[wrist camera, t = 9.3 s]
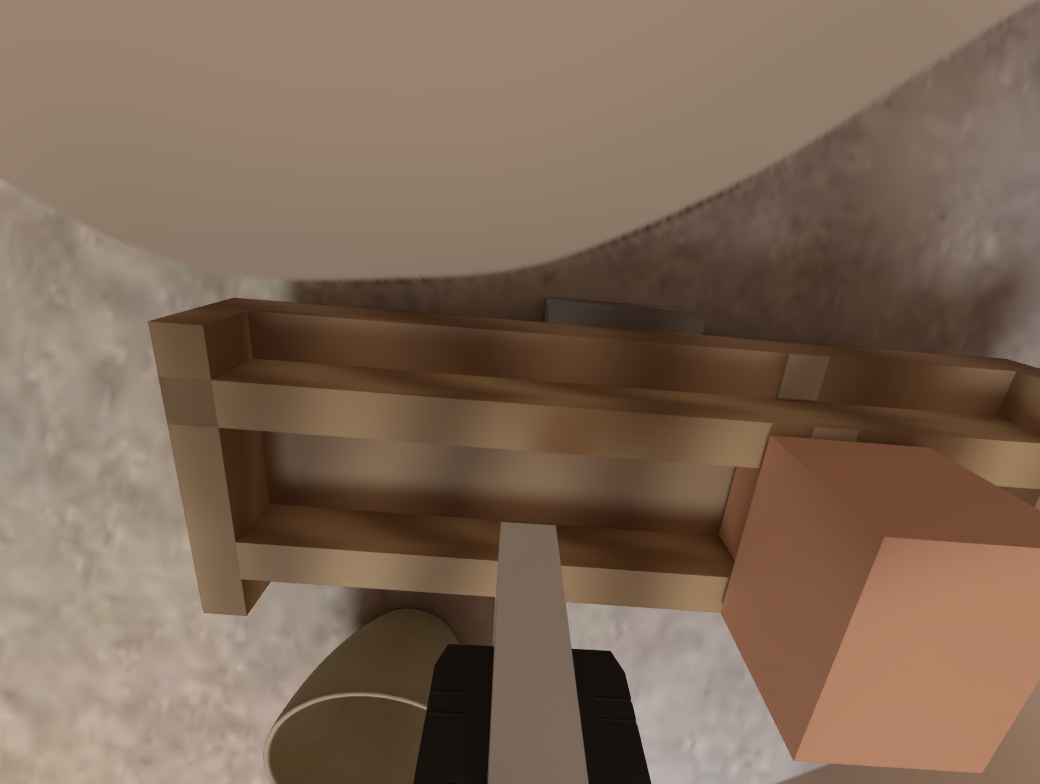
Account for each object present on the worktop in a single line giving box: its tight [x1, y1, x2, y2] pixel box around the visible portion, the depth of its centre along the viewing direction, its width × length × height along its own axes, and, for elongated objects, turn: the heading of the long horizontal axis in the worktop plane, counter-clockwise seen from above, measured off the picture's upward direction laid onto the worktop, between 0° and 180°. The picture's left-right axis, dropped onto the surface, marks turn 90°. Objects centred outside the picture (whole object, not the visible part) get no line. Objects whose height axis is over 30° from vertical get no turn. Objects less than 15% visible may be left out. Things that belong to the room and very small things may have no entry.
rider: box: [719, 436, 1040, 773], centre depth 15 cm, size 5×7×7 cm
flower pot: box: [263, 609, 460, 784], centre depth 25 cm, size 10×10×7 cm
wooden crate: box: [148, 297, 1040, 616], centre depth 20 cm, size 30×12×8 cm, turn 86°
